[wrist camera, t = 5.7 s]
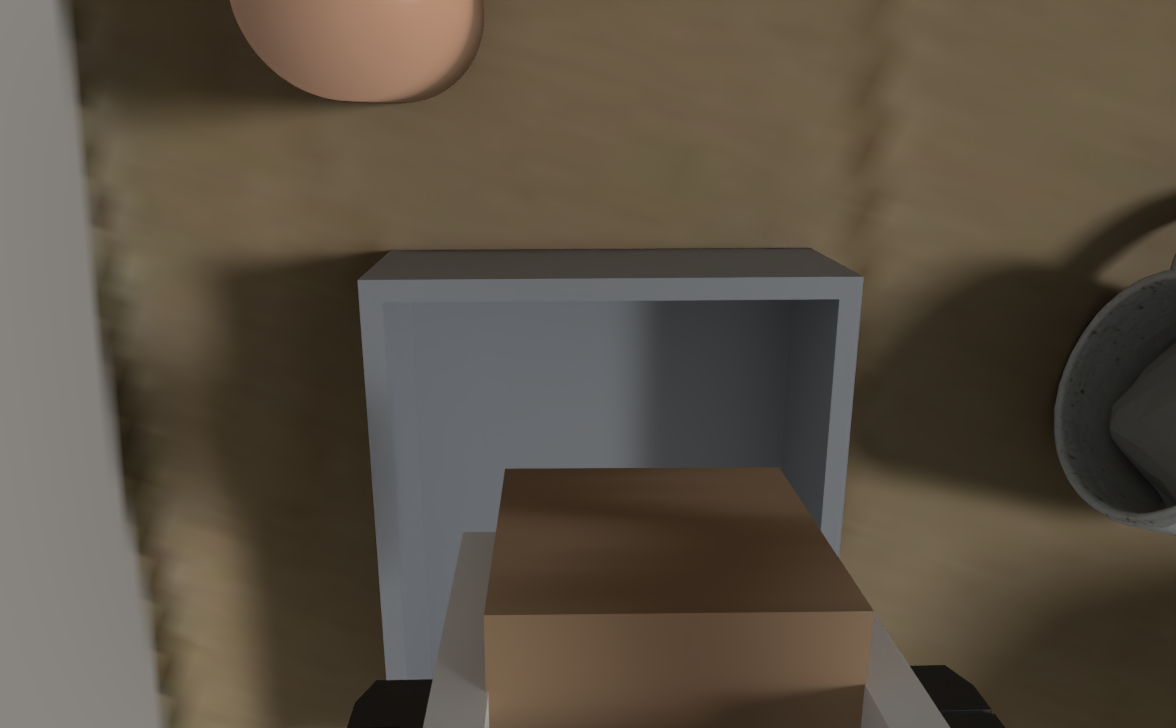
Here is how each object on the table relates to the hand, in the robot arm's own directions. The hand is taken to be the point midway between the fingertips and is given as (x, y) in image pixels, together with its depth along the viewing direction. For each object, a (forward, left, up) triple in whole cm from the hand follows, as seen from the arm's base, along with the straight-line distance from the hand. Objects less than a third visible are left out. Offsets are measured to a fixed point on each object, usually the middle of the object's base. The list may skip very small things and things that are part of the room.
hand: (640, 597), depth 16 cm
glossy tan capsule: (-11, -6, -13) cm, 18 cm away
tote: (+4, 0, -13) cm, 14 cm away
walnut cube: (0, 0, 0) cm, 0 cm away
